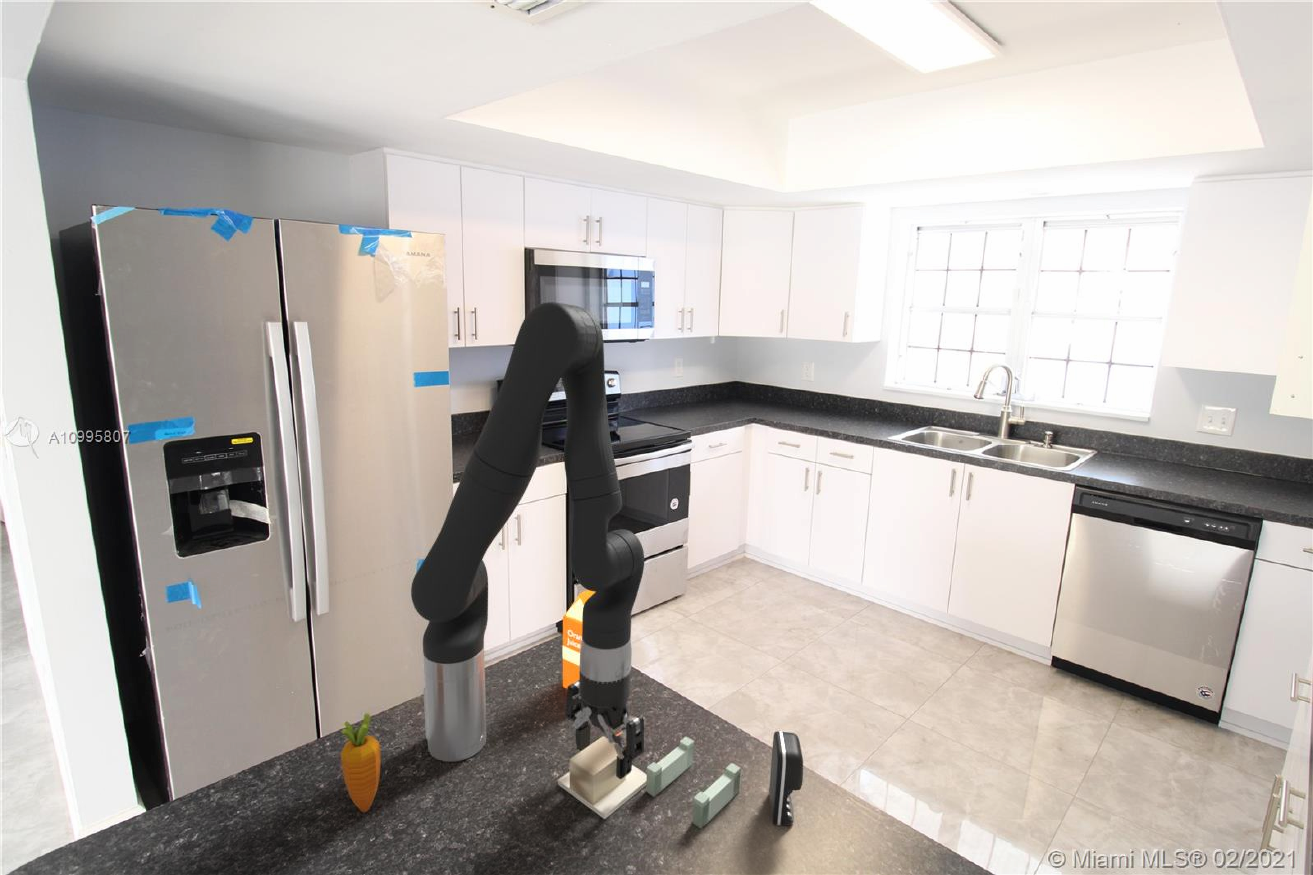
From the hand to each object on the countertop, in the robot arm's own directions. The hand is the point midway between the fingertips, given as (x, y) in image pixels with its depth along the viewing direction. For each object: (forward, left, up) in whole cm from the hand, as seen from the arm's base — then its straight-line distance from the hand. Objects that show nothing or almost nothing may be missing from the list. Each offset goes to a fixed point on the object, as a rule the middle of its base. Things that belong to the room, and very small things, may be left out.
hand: (602, 761), depth 100 cm
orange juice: (-20, +18, -4) cm, 27 cm away
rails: (+11, +8, -4) cm, 14 cm away
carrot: (-21, -26, -4) cm, 34 cm away
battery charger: (+23, +15, -4) cm, 28 cm away
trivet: (0, +1, -4) cm, 4 cm away
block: (0, -1, -3) cm, 3 cm away
